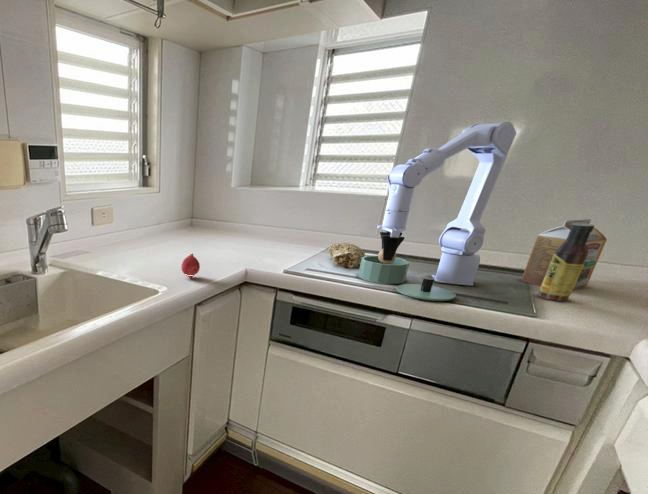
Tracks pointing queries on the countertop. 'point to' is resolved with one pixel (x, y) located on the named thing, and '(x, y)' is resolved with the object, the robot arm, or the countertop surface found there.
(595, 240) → the milk carton
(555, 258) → the sauce bottle
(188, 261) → the onion
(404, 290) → the bin lid
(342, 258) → the tan brown irregular lump
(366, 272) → the green faceted bin
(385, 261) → the orange brown ball
